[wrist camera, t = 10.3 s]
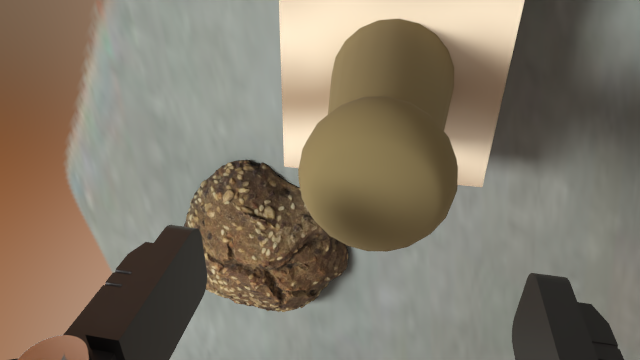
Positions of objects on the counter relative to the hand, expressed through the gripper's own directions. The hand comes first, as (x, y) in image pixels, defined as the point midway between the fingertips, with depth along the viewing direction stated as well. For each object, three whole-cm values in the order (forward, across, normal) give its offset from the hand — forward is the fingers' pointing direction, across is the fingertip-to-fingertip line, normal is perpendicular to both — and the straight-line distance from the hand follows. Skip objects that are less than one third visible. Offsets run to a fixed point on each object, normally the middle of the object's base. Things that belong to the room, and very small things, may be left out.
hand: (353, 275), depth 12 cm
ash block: (+19, 0, 0) cm, 19 cm away
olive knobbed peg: (+14, 0, 0) cm, 14 cm away
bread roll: (+20, +8, +16) cm, 26 cm away
